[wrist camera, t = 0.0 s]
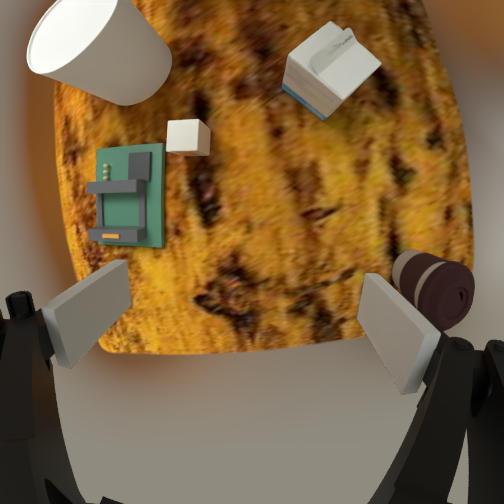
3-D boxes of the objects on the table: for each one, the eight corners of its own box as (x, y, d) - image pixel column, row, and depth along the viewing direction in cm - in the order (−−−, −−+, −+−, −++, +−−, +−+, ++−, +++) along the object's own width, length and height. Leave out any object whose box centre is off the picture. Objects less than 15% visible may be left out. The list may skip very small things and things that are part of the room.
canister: (106, 48, 34) (41, 5, 15) (174, 30, 34) (128, -35, 14) (98, 112, 38) (18, 89, 18) (170, 98, 37) (107, 49, 18)
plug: (185, 130, 38) (168, 120, 31) (210, 130, 38) (198, 119, 31) (183, 157, 40) (166, 152, 32) (209, 156, 39) (197, 151, 32)
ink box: (322, 123, 37) (347, 99, 24) (280, 87, 36) (286, 50, 23) (355, 88, 36) (389, 57, 23) (315, 54, 34) (333, 12, 21)
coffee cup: (379, 295, 44) (418, 340, 29) (388, 239, 41) (438, 266, 27) (424, 295, 44) (469, 334, 29) (434, 243, 41) (488, 268, 27)
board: (101, 149, 39) (84, 147, 34) (165, 144, 39) (152, 139, 34) (102, 242, 43) (86, 249, 38) (164, 245, 43) (152, 254, 38)
